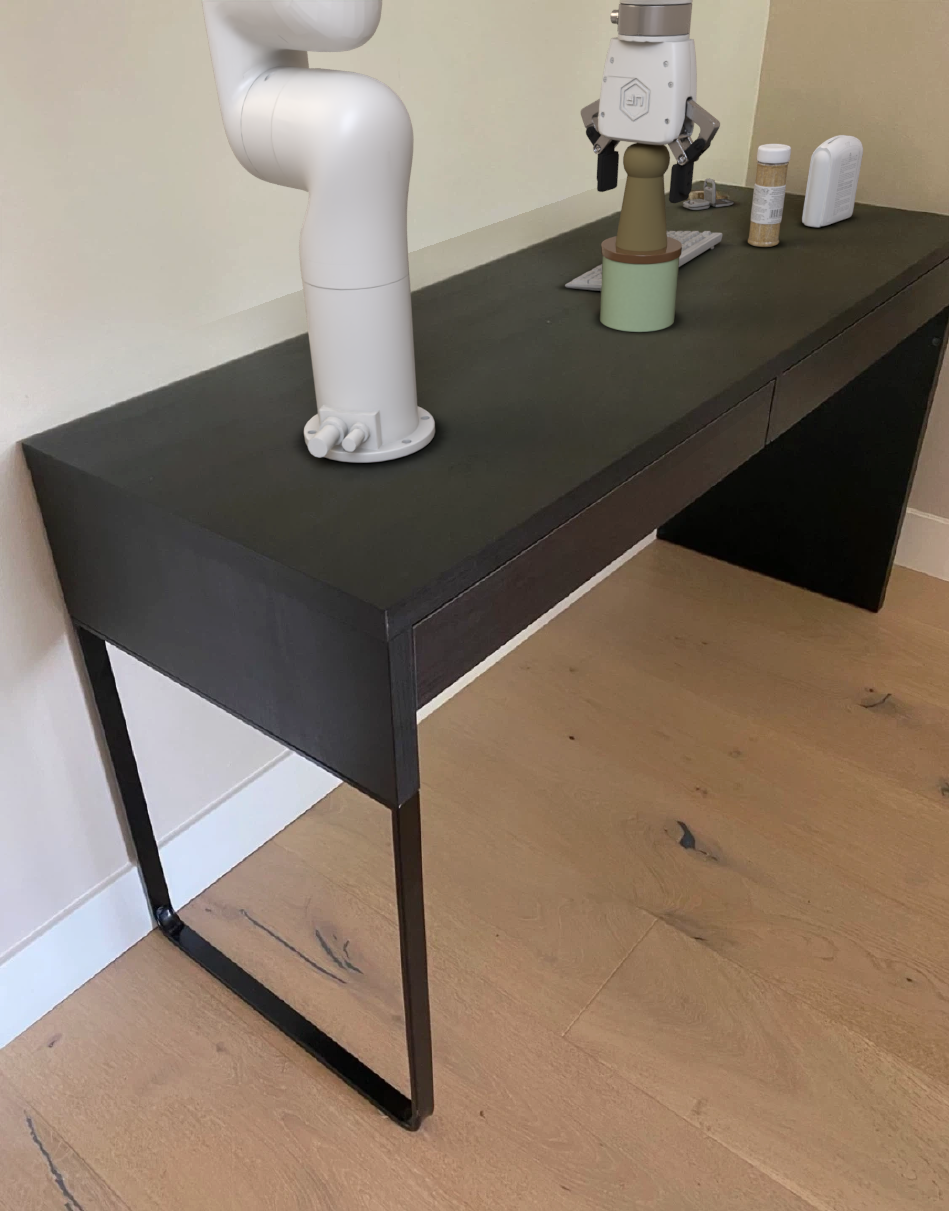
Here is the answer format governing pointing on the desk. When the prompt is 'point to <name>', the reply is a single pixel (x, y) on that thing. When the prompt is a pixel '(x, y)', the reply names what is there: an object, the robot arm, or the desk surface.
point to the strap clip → (707, 198)
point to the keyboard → (690, 240)
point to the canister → (639, 286)
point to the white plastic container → (832, 181)
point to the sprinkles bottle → (769, 194)
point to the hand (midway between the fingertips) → (642, 195)
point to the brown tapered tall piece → (644, 199)
